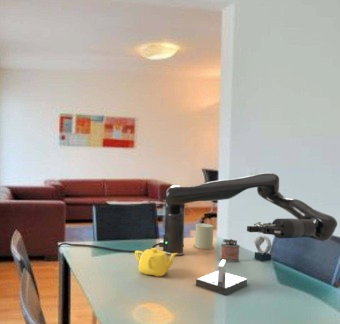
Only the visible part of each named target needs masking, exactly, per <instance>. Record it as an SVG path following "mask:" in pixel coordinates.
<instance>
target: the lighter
mask: <svg viewBox="0 0 340 324" xmlns="http://www.w3.org/2000/svg"><path fill="white" fill-rule="evenodd" d="M220 246H221V252H220V253H221V254H220V255H221V256H220V262H221V261H222V260H226V263H239V262H240V244H238V240H236V239H232V238H229V239H227V238H224V239H223V240H222V243H220Z"/></svg>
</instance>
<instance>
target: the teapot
mask: <svg viewBox="0 0 340 324" xmlns="http://www.w3.org/2000/svg"><path fill="white" fill-rule="evenodd" d="M134 251H135V252H134V255H135V256H134V257H135V258H136V260H137V261H138V270H139V272H140V273H142V274H143V275H147V276H149V275H150V276H151V275H152V276H155V277H157V278H159V277H160V278H161V277H163V276H165V274H166V273H167V272H168V270H169V269H170V268H171V267H172V265H173V263H174V257H176V256H175V255H176V254H178V253H173V254H171V255H169V258H168V254H166V252H165V251H163V250H161V249H160V248H157V247H154V248H152V247H151V248H146V249H145V250H143V252H142V251H141V250H134ZM139 254H141V255H139Z"/></svg>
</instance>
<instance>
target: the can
mask: <svg viewBox="0 0 340 324" xmlns="http://www.w3.org/2000/svg"><path fill="white" fill-rule="evenodd" d="M214 227H215V226H214V225H213V224H210V223H196V224H195V236H194V237H195V238H194V248H197V249H200V250H213V248H214Z"/></svg>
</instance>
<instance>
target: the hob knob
mask: <svg viewBox="0 0 340 324" xmlns="http://www.w3.org/2000/svg"><path fill="white" fill-rule="evenodd" d="M217 268H218V269H217V271H218V282H223V280H224V278H225V276H226V273H227V261H226V260H222V261H221V260H220V262H219V264H218V267H217Z"/></svg>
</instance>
